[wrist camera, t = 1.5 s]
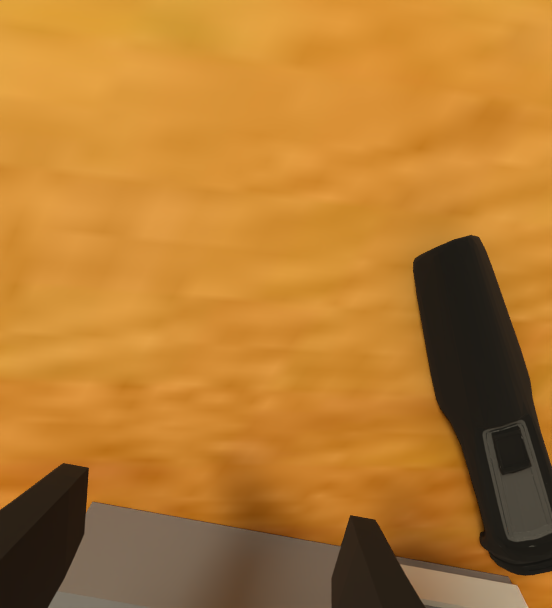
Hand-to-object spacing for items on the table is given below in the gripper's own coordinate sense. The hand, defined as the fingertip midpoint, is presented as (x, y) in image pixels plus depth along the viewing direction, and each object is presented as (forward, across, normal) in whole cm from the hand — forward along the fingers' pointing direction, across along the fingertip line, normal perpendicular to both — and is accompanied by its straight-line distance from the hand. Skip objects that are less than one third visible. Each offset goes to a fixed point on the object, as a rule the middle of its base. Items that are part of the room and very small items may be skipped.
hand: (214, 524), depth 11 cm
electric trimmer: (+9, -10, 0) cm, 13 cm away
